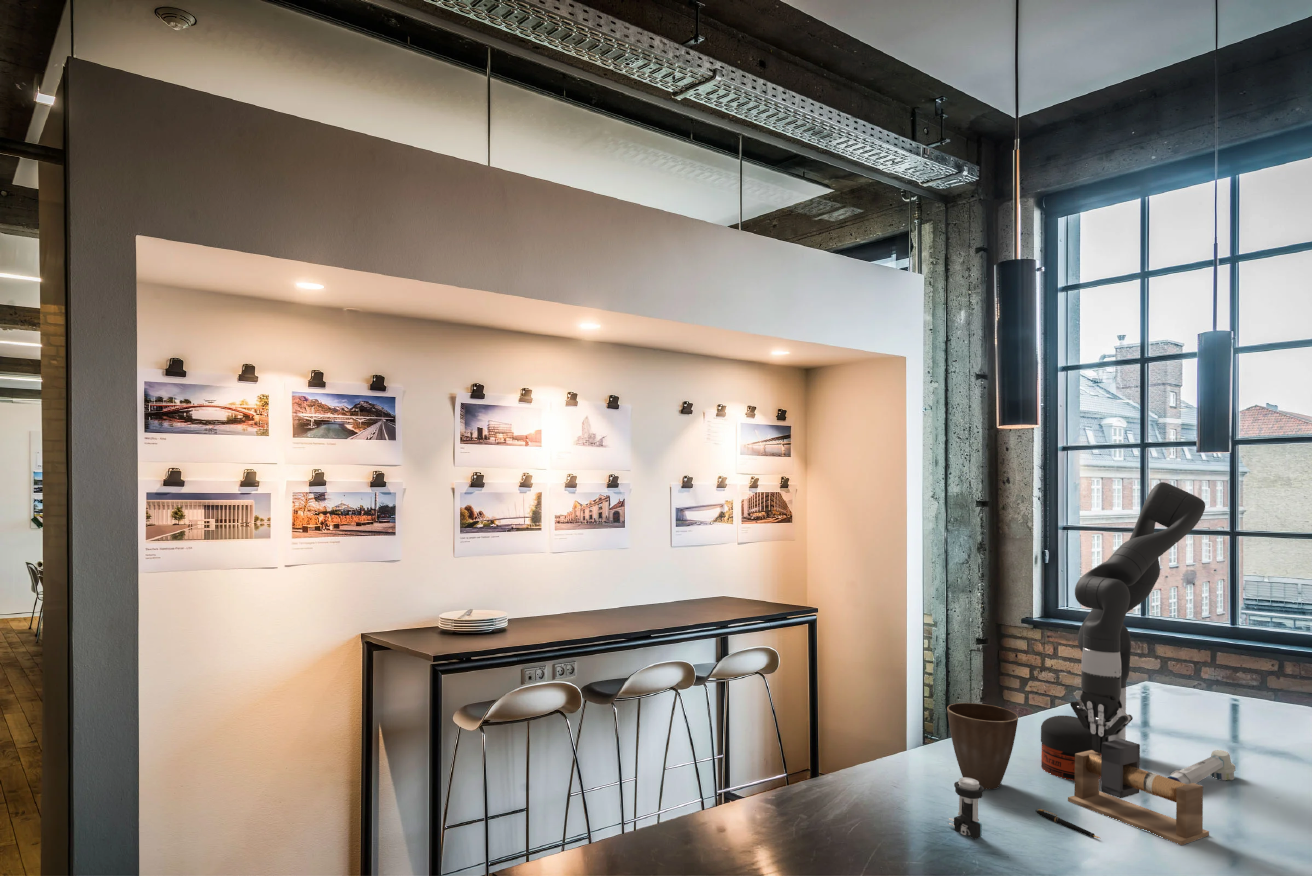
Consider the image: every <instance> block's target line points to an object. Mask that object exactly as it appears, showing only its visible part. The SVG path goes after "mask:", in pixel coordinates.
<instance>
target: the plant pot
mask: <svg viewBox="0 0 1312 876" xmlns="http://www.w3.org/2000/svg"><path fill="white" fill-rule="evenodd" d="M946 709H947V711H946V712H947V718H948V719H947V720H948V726H949V731H950V736H951V742H952V746H953V750H954V753H955V758H956V761H957V765H958V766H959V767H958V768H959V771H960V774H961V776H962V778H964V777H965V778H972V779H975V780H977V781H978V782H979V785H981V786H982V787H983V788H984V790H995V789H996V790H997V789H998V788H1000V786H1001V784H1002V781H1003V778H1004V776H1005V773H1006V771H1007V768H1008V765H1009V762H1010V759H1011V756H1012V753H1013V748H1014V745H1015V740H1016V736H1017V735H1016V733H1017V727H1018V721H1019V716H1018V714H1017V713H1016V712H1014V711H1012V710H1010V709H1007V708H1005V707H999V706H996V705H991V704H984V703H975V702H973V703H972V702H959V703H953V704H949V705H948V706H947V707H946Z"/></svg>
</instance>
